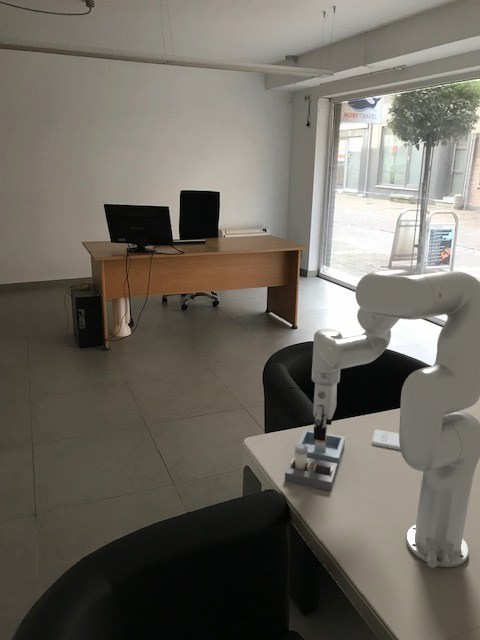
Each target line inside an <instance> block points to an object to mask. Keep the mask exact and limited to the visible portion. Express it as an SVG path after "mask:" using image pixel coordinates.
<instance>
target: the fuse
mask: <svg viewBox="0 0 480 640" xmlns="http://www.w3.org/2000/svg"><path fill="white" fill-rule="evenodd" d="M294 448H295V449H294V455H295V469H297V470H302V471H306V461H307V451H308V447H307V446H306V445H303V444H298V443H297V444H296V445H295V447H294Z"/></svg>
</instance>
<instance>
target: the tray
mask: <svg viewBox="0 0 480 640" xmlns="http://www.w3.org/2000/svg"><path fill="white" fill-rule="evenodd" d="M313 436H314V430H308V429H304V430H303V432H302V434H301V436H300V438H299V441H298V442H297V445H298V444H303V445H306V446H307V447H308V451H307V458H312V459H317V460H322V461H327V462H332V463H337V469H338V467H339V465H340V462H341V459H342V456H343V452H344V449H345V444H346V436H342V435H336V434H332V433H326V452H325V453H320V452H315V451H314V447H315V440H314V439H313Z"/></svg>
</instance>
